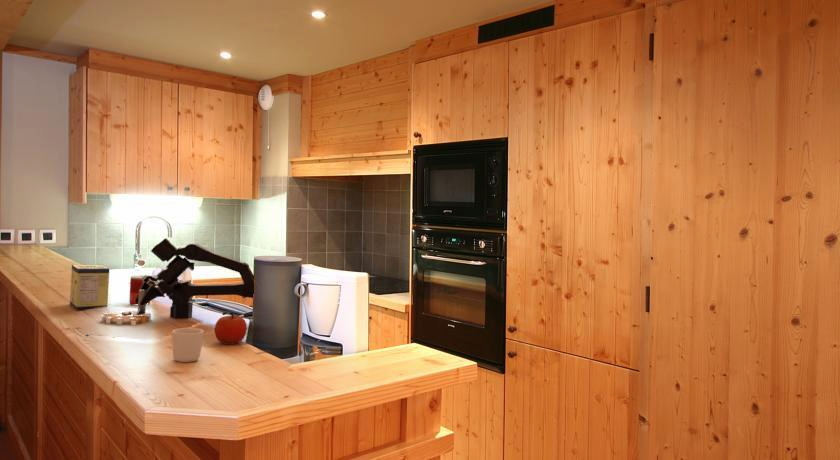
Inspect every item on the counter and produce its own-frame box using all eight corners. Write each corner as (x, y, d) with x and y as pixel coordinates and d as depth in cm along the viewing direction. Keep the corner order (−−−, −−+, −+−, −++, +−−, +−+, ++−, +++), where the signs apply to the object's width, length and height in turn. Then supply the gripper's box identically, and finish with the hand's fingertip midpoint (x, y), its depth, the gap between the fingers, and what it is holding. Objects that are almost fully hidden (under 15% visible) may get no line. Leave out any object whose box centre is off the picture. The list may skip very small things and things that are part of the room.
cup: (179, 353, 162) (181, 325, 162) (208, 354, 163) (210, 326, 162) (165, 363, 151) (167, 332, 151) (197, 364, 152) (199, 334, 152)
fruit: (253, 343, 180) (254, 311, 180) (228, 347, 172) (230, 314, 172) (231, 338, 185) (233, 306, 185) (207, 342, 177) (208, 310, 177)
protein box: (99, 303, 231) (101, 264, 231) (107, 309, 219) (110, 268, 219) (69, 304, 224) (71, 264, 224) (76, 311, 212) (78, 268, 212)
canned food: (142, 305, 231) (143, 278, 231) (124, 303, 233) (126, 276, 233) (154, 303, 239) (156, 276, 239) (137, 301, 240) (139, 275, 240)
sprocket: (158, 318, 203) (160, 290, 203) (135, 326, 188) (137, 295, 188) (117, 315, 204) (119, 286, 204) (91, 322, 189) (92, 292, 189)
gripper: (198, 289, 203) (163, 323, 196) (179, 283, 217) (146, 314, 210) (176, 267, 198) (139, 301, 191) (158, 262, 212) (124, 293, 204)
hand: (138, 303), depth 199 cm, fingers open, 5 cm apart
